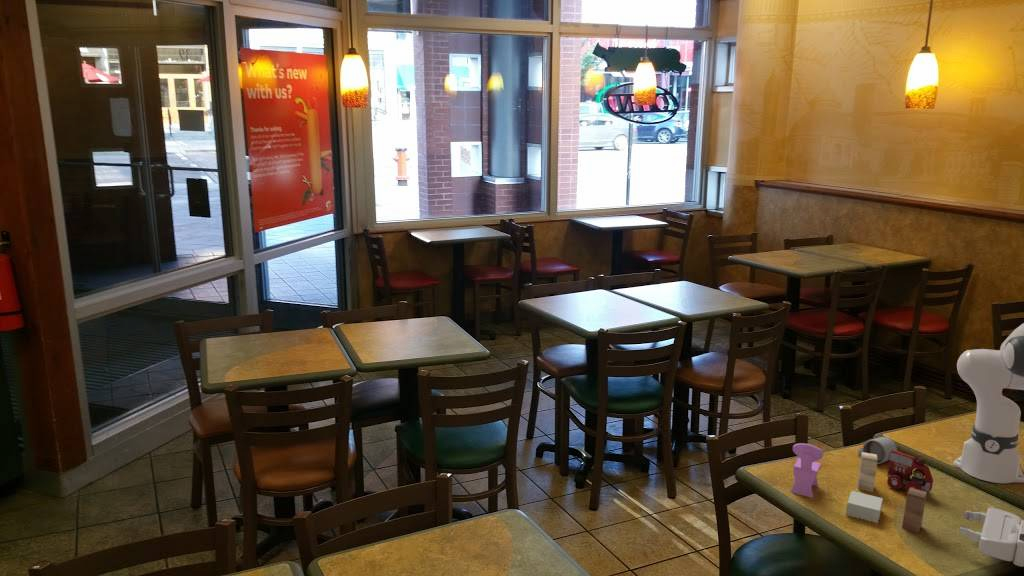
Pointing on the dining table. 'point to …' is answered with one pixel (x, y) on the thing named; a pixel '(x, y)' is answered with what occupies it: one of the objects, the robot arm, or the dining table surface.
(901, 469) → the toy fire truck
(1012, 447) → the robot arm
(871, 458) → the maple block
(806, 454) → the toy chair
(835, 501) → the dining table surface
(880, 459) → the ceramic mug
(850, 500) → the pedestal block
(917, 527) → the walnut block
